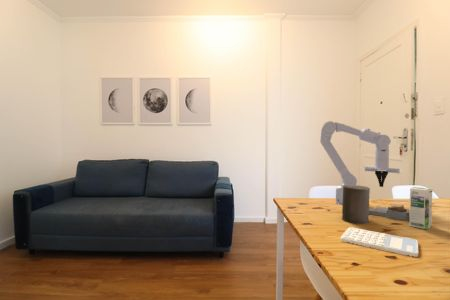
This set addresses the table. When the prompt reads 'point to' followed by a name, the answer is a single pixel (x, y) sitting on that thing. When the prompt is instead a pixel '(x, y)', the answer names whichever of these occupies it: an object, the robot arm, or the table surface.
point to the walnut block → (398, 208)
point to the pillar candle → (355, 204)
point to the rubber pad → (381, 208)
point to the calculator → (381, 241)
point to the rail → (391, 213)
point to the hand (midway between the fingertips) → (381, 186)
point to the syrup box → (420, 207)
